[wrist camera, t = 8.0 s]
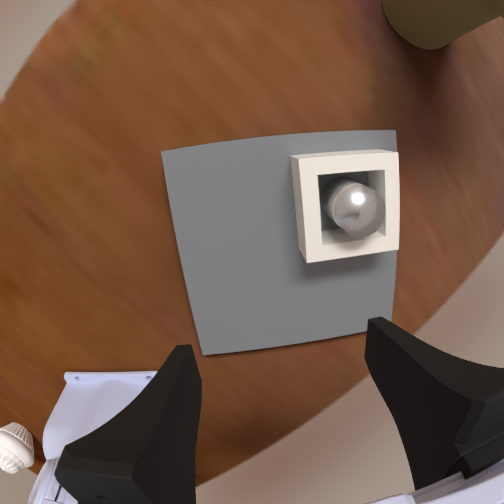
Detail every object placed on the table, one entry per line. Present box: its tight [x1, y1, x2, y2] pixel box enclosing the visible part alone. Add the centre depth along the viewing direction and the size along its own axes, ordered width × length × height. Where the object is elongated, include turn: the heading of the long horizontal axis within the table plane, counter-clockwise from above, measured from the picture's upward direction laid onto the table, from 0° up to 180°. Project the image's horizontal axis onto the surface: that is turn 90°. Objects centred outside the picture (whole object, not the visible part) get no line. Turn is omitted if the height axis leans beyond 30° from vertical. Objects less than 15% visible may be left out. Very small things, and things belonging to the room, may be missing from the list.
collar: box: [290, 149, 400, 263], centre depth 18 cm, size 6×6×2 cm
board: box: [161, 130, 397, 355], centre depth 20 cm, size 14×14×1 cm
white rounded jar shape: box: [0, 423, 34, 474], centre depth 24 cm, size 6×6×7 cm
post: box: [320, 177, 385, 238], centre depth 17 cm, size 3×3×4 cm
